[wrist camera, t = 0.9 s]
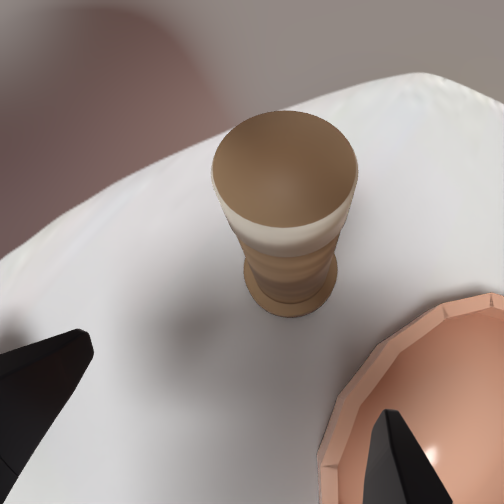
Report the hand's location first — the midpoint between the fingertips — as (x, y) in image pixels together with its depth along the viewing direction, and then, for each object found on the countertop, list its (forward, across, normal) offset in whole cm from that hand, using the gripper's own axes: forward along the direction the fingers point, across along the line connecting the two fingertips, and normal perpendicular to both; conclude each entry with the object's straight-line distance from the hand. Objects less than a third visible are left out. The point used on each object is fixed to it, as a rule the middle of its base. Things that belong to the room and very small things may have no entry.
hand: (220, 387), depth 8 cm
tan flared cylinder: (+15, 0, +4) cm, 15 cm away
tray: (+7, -16, +12) cm, 21 cm away
